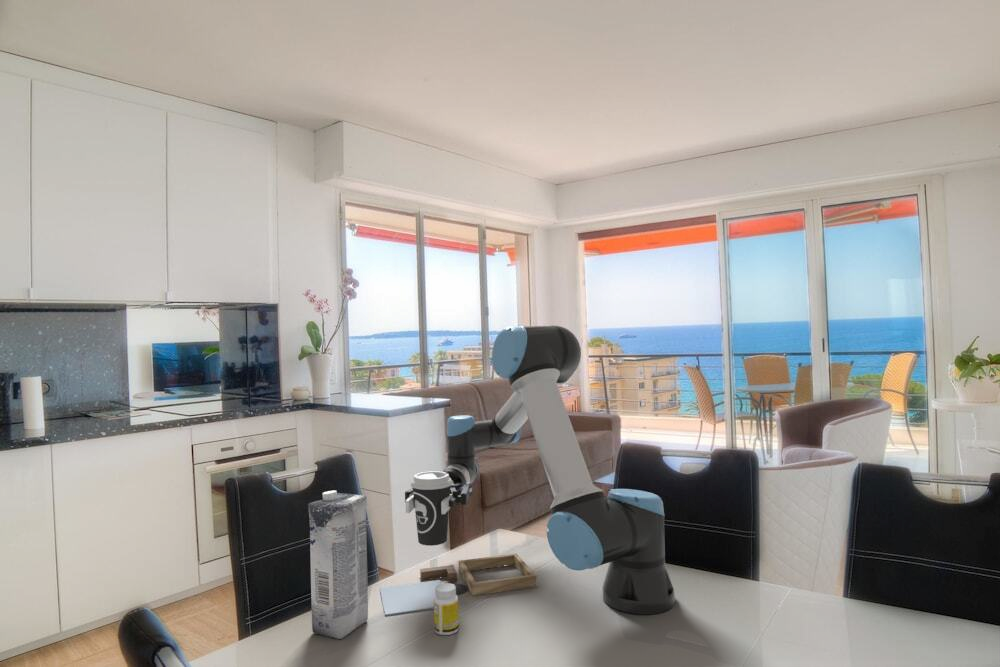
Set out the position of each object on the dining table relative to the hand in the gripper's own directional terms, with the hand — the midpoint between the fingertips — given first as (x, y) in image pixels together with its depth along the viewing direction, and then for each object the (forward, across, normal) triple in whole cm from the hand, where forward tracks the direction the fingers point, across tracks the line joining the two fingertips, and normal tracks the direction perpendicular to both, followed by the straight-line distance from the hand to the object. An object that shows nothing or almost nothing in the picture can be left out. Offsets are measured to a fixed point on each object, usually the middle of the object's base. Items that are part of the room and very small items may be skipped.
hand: (425, 507), depth 132 cm
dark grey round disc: (-6, -5, -20) cm, 22 cm away
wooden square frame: (-13, -13, -20) cm, 27 cm away
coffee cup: (-5, 0, -9) cm, 10 cm away
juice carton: (+15, +13, -20) cm, 29 cm away
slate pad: (0, +3, -20) cm, 20 cm away
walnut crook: (-11, +1, -20) cm, 23 cm away
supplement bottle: (+13, -8, -20) cm, 25 cm away
